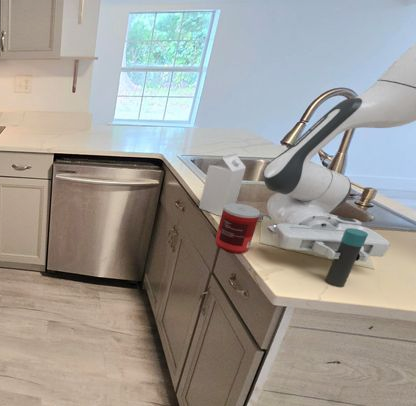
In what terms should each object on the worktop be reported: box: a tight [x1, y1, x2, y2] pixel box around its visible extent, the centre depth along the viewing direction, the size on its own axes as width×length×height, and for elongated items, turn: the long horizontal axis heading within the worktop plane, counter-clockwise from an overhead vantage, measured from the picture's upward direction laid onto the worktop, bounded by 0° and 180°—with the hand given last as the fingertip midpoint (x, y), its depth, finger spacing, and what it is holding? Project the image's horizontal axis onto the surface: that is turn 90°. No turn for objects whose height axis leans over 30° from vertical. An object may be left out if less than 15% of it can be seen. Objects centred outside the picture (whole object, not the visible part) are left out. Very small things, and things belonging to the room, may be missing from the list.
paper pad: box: [259, 217, 376, 270], centre depth 99 cm, size 22×20×1 cm
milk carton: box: [198, 151, 247, 217], centre depth 114 cm, size 7×7×19 cm
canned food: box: [214, 202, 261, 254], centre depth 95 cm, size 8×8×11 cm
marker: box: [324, 228, 368, 288], centre depth 79 cm, size 3×3×13 cm
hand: (349, 257), depth 78 cm, fingers open, 3 cm apart
